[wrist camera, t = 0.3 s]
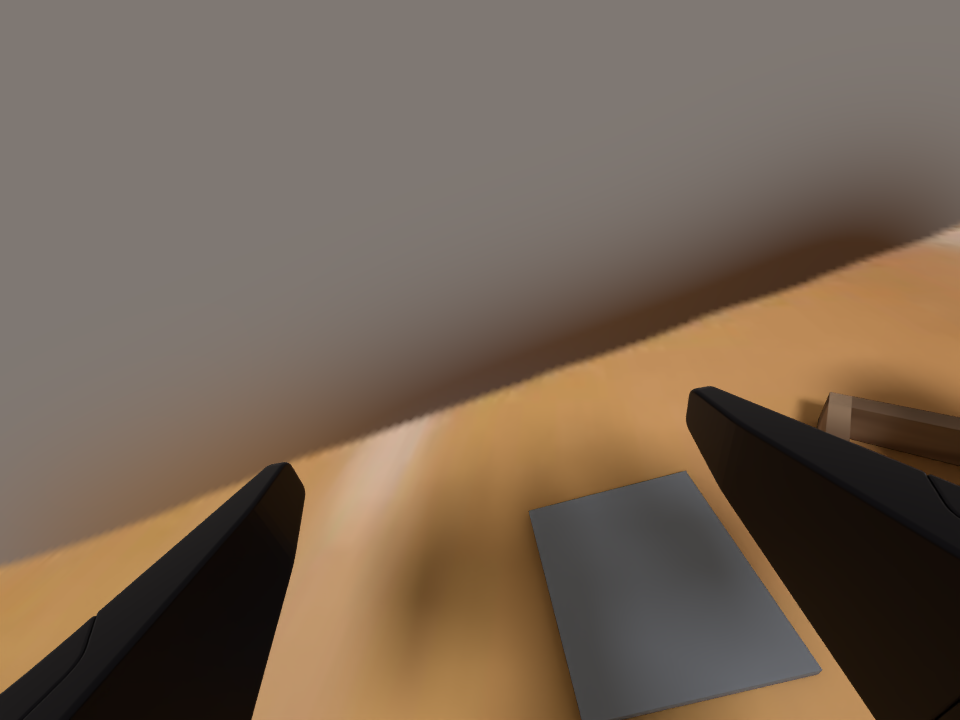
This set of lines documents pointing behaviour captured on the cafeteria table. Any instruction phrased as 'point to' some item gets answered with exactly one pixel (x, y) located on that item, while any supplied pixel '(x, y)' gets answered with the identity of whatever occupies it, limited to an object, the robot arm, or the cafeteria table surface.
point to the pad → (659, 602)
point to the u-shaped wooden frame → (892, 427)
